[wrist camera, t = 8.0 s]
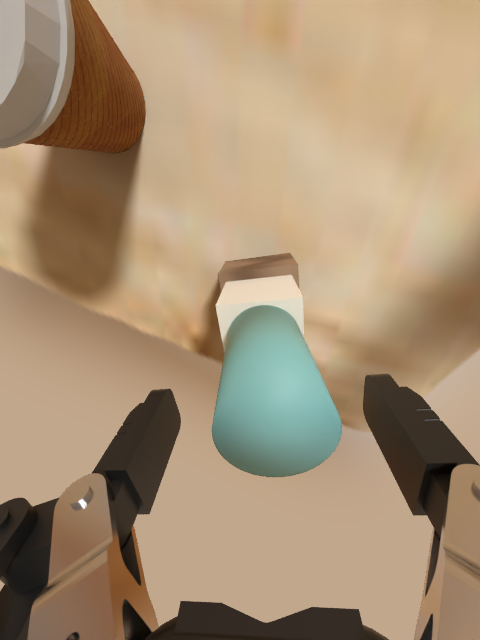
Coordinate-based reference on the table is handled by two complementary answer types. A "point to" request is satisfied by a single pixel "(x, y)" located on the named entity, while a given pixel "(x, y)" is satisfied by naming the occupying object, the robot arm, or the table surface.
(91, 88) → the disposable coffee cup
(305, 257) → the table surface
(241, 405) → the teal capsule
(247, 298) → the cream block
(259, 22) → the table surface
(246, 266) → the walnut base block
